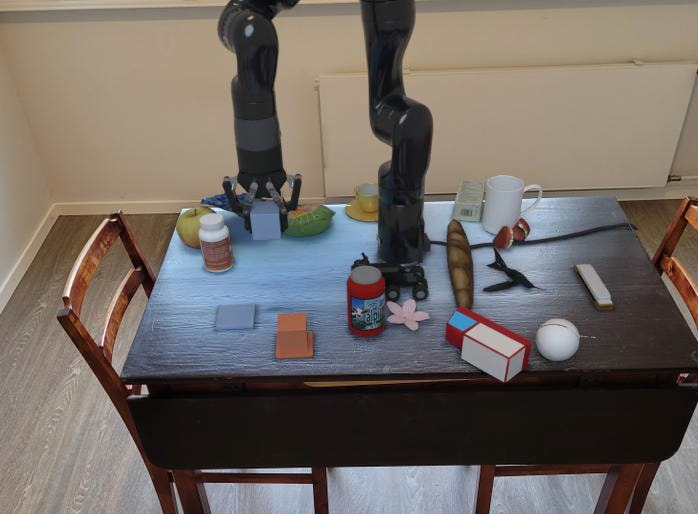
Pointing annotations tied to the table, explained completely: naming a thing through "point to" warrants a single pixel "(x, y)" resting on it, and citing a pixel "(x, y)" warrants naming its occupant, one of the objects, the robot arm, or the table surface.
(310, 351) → the terracotta mat
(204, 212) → the apple
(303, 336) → the terracotta block
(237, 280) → the table surface
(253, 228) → the slate-blue block
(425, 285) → the toy vehicle
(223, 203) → the rock
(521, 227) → the dentures model
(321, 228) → the educational model
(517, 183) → the mug
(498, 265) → the bird model
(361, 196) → the cup
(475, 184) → the cosmetic box
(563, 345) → the seamed sphere
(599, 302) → the harmonica
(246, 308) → the slate-blue mat
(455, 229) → the bread
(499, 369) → the toy truck
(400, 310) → the flower
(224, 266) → the pill bottle
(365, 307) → the beverage can
